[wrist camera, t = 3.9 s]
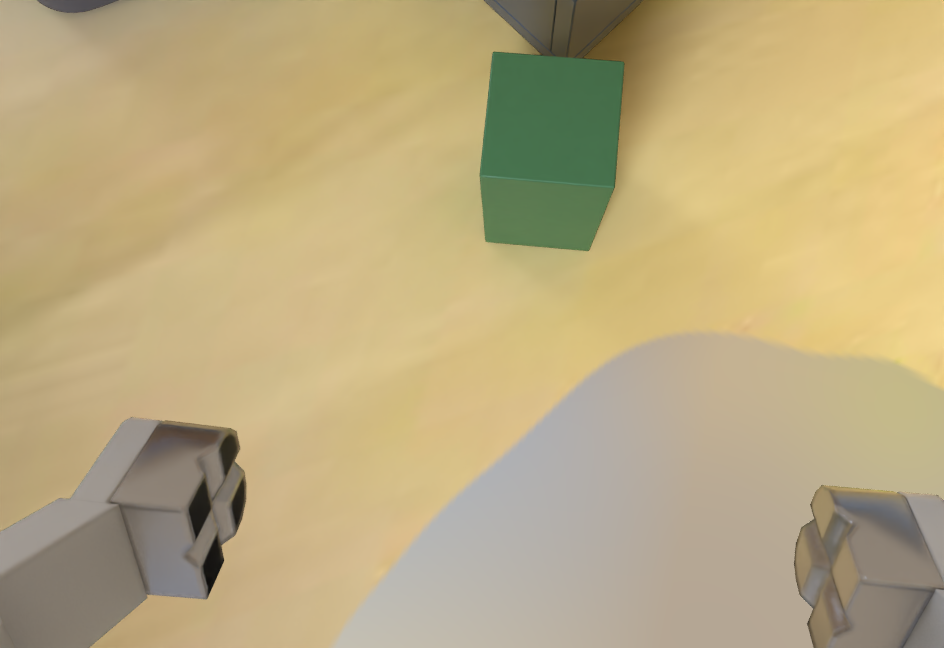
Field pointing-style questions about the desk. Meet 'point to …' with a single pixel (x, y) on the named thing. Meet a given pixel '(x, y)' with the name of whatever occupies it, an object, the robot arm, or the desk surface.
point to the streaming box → (74, 5)
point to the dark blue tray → (563, 22)
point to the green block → (549, 149)
